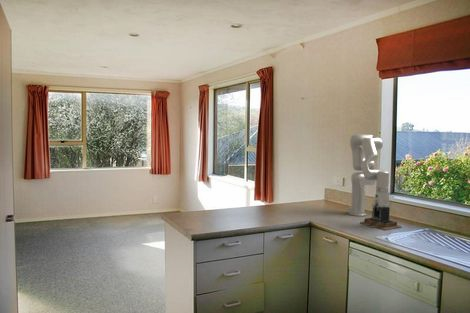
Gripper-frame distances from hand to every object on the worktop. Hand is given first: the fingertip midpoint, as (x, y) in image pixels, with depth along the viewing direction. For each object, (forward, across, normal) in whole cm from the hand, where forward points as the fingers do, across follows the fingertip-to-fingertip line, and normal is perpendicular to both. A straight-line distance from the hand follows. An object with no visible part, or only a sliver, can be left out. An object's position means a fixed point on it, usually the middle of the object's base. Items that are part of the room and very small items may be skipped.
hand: (380, 216), depth 252 cm
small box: (+4, 0, 0) cm, 4 cm away
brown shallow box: (+6, 0, 0) cm, 6 cm away
